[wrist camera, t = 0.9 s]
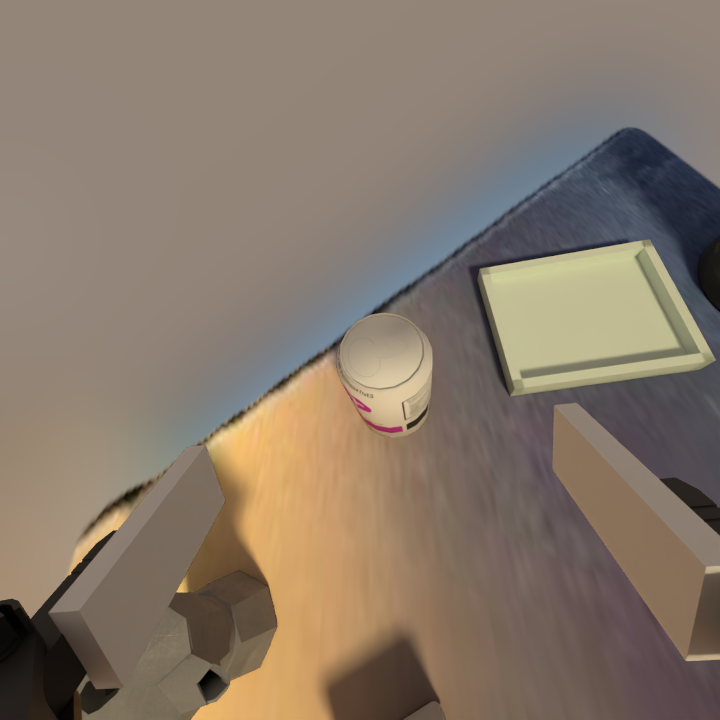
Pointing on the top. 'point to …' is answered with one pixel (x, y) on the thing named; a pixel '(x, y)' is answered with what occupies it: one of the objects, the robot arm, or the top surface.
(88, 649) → the robot arm
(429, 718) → the electrical switch
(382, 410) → the supplement can
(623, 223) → the top surface
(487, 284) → the tray
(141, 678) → the coffeepot
